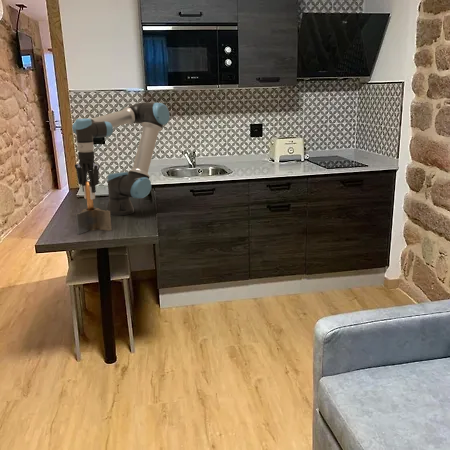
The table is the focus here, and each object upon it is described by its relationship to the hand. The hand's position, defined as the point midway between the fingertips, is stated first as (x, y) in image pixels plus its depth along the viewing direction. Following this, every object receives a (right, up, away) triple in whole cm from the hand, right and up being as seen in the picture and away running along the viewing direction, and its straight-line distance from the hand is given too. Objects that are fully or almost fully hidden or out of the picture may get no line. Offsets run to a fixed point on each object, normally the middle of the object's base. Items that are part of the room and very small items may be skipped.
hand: (89, 198), depth 234 cm
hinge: (+2, -16, -1) cm, 16 cm away
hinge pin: (0, -10, +3) cm, 11 cm away
